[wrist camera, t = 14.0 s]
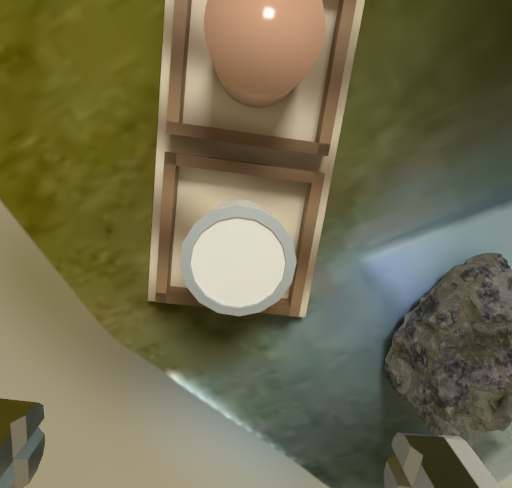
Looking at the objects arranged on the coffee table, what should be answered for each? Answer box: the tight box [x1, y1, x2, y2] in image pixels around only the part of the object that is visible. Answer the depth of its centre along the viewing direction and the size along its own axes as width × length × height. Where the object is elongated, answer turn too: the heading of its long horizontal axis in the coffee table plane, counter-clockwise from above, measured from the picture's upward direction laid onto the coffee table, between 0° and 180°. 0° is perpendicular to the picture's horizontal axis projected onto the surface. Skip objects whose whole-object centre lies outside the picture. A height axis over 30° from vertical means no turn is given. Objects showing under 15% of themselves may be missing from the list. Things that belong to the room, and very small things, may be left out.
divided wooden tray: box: [148, 0, 365, 317], centre depth 25 cm, size 25×13×2 cm, turn 172°
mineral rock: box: [384, 253, 512, 448], centre depth 26 cm, size 13×11×10 cm
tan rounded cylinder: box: [204, 0, 326, 108], centre depth 21 cm, size 6×6×7 cm
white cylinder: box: [179, 198, 297, 316], centre depth 24 cm, size 7×7×7 cm
